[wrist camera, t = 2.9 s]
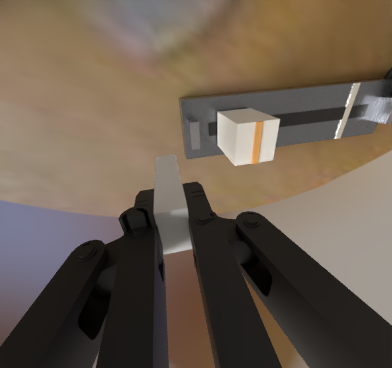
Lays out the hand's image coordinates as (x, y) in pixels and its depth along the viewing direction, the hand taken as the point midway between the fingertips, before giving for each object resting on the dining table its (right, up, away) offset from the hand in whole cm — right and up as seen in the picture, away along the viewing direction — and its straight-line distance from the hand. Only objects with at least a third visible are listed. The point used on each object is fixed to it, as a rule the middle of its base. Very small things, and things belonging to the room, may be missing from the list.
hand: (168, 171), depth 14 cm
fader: (+7, +6, +8) cm, 12 cm away
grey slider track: (+14, +8, +11) cm, 20 cm away
